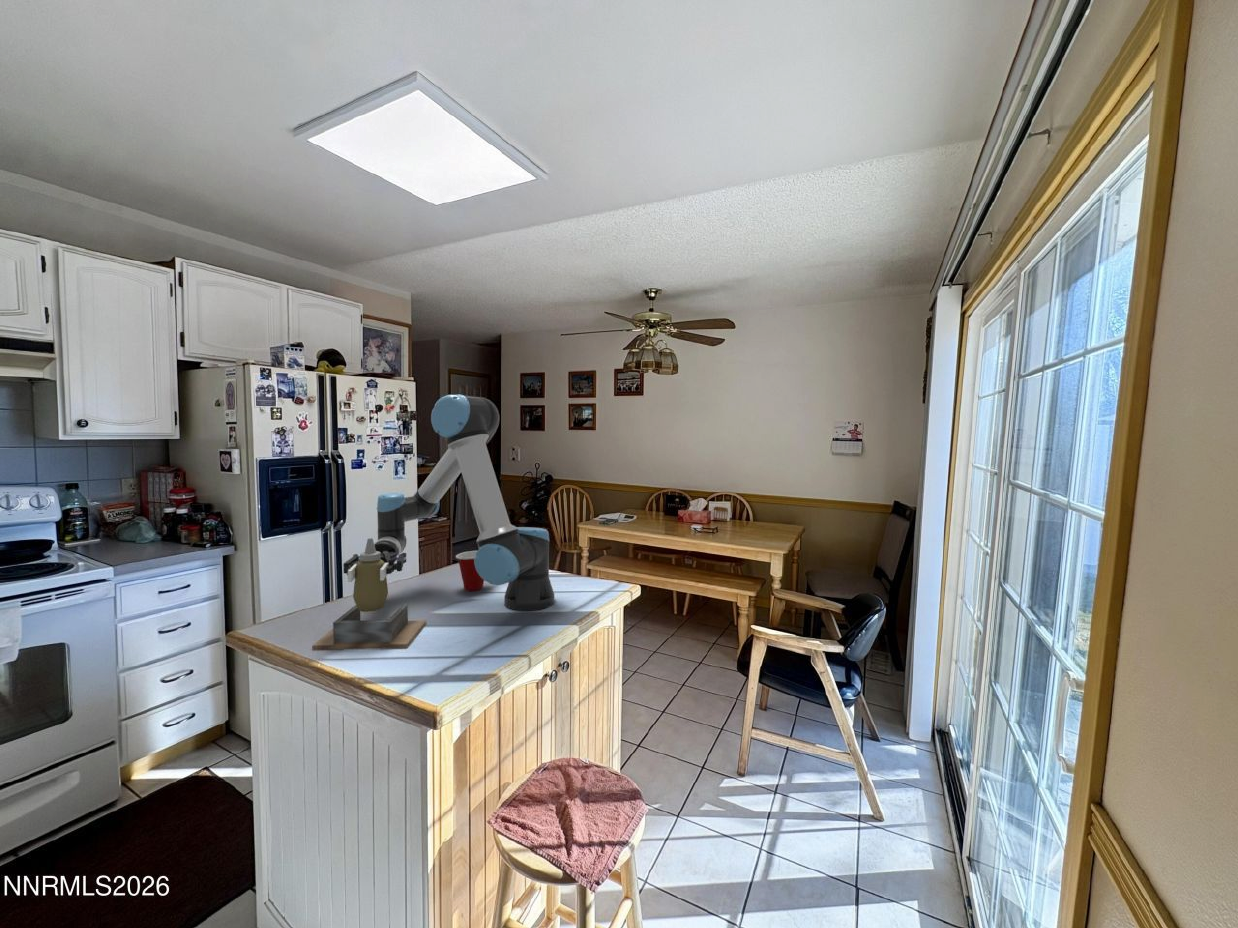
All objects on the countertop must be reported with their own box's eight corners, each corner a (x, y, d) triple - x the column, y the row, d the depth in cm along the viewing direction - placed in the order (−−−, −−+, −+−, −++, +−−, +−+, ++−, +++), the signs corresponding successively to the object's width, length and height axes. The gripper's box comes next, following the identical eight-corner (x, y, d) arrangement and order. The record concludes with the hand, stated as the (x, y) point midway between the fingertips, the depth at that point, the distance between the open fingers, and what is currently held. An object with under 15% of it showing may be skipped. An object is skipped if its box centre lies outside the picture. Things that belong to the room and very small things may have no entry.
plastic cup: (464, 582, 175) (464, 548, 174) (494, 584, 173) (494, 549, 172) (449, 592, 164) (449, 556, 163) (481, 594, 162) (481, 557, 162)
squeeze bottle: (374, 615, 125) (373, 543, 124) (345, 612, 127) (344, 541, 125) (395, 604, 133) (394, 536, 132) (367, 601, 135) (367, 534, 133)
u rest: (426, 624, 138) (425, 602, 137) (407, 647, 123) (406, 623, 122) (341, 625, 136) (341, 603, 136) (312, 649, 121) (311, 624, 121)
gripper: (420, 563, 149) (408, 588, 127) (347, 566, 144) (321, 593, 122) (420, 538, 149) (408, 559, 126) (347, 540, 144) (321, 562, 121)
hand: (365, 575), depth 124 cm, fingers closed on squeeze bottle, 6 cm apart
